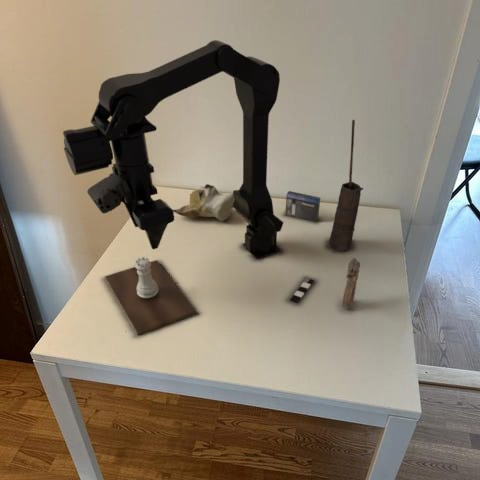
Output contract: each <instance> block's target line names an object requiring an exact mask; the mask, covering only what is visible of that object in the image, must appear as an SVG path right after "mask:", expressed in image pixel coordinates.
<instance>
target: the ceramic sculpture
mask: <svg viewBox="0 0 480 480" xmlns="http://www.w3.org/2000/svg"><path fill="white" fill-rule="evenodd" d="M233 204H234V196H233V193H231V192H227V193H221V192H219V191H218V189H217V188H216V187H215V186H214V185H211V184H208V183H207V184H205V185H204V186H198V187H197V188H195V189H194V190H193V191H192V192H191V193H190V194H189V204H187V205H183V206H181V207H180V208H177V209H172V210H173V213H175V214H177V215H179V216H182V217H185V218H194V217H207V218H208V217H212V218H216V219H217V220H219V221H220V222H224V221H226V220H228V219H229V218H230V216H231V213H232V210H233V209H234V207H233Z"/></svg>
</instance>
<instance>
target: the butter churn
mask: <svg viewBox="0 0 480 480" xmlns="http://www.w3.org/2000/svg"><path fill="white" fill-rule="evenodd" d="M355 121H356V120H355V119H352V121H351V141H350V142H351V143H350V160H349V177H348V178H349V179H348V181H347V182H345V183H342V184H341V187H340V191H339V195H338V202H337V206H336V208H335V209H336V210H335V214H334V220H333V224H332V228H331V233H330V237H329V241H328V246H329V247H330V248H331V249H334V250H335V251H336V252H337V251H339V252H345V251H348V250H350V249H351V247H352V242H353V237H354V232H355V225H356V222H357V216H358V212H359V206H360V201H361V192H362V191H363V190H364V187H361V185H359V184H358V183H356V182H354V181H353V177H352V176H353V161H354V160H353V159H354V143H355V125H356V123H355Z"/></svg>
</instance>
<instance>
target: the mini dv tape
mask: <svg viewBox="0 0 480 480" xmlns="http://www.w3.org/2000/svg"><path fill="white" fill-rule="evenodd" d="M320 204H321V197H320V196H315V195H310V194H306V193H301V192H296V191H292V190H289V191H288V192H287V193H286V198H285V216H287V217H290V218H291V217H292V218H296V219H299V220H303V221H304V220H305V221H309V222H313V223H316V222H317V221H318V220H319V215H320V214H319V213H320V207H321V206H320Z"/></svg>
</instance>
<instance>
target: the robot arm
mask: <svg viewBox="0 0 480 480" xmlns="http://www.w3.org/2000/svg"><path fill="white" fill-rule="evenodd" d="M220 73H225V74H226V75H228V76H230V77H232V78H233V83H234V87H235V95H236V96H237V100H238V102H239V105H240V108H241V110H242V120H243V121H242V126H243V127H242V184H241V186H240V187H239V189H235V190H233V193H232V194H233V196H234V204H233V209H234V210H235V212H236V214H237V215H239V217H241V218H242V219H243V221H245V222H246V223H248V224H247V225H246V228H245V229H246V230H245V231H246V232H244V243H242V246H243V248H244V249H245V250H246V251H247V252H248V253H250V255H252V257H254V258H255V260H259V259H262V258H264V257H267V256H270V255H273V254H276V253H279V252H280V251H281V248H280V247H279V246H278V245H277V241H278V233H279V232H281V231H282V229H283V225H284V221H283V220H281V219H280V218H279V217H277V215H275V214H274V206H273V205H274V204H273V199H272V196H271V194H270V191H269V188H268V186H267V178H268V176H267V175H268V150H269V149H268V146H269V124H270V123H269V121H270V120H269V117H270V113H271V111H272V109H273V107H274V105H275V104H276V102H277V99H278V94H279V89H280V82H281V76H280V71H279V70H278V69H277V68H276V67H275V66H274V65H273V64H271V63H268V62H266V61H264V60H261V59H259V58H257V57H254V56H246V55H245V54H242V53H241V52H239V51H237V50H236V49H234V48H233V47H232V46H231V45H230V44H228V43H226V42H223V41H220V40H217V39H215V40H211V41H209V42H208V43H207V44H206V45H204V46H201V47H199V48H197V49H194V50H193V51H191V52H189V53H186V54H184V55H182V56H179V57H178V58H177V57H176V59H172V60H171V61H168V62H167V63H164V64H162V65H160V66H158V67H156V68H153V69H151V70H149V71H145V72H137V73H127V74H122V75H117V76H113V77H109V78H107V79H106V80H104V81H103V82H102V83H101V85H100V88H99V90H98V103H97V105H96V108H95V110H94V112H93V114H92V117H91V119H90V123H91V124H92V126H86V127H81V128H77V129H72V128H71V129H67V130H63V131H62V134H63V138H64V139H63V144H64V145H63V146H64V147H63V150H64V155H65V157H66V161H67V163H68V165H69V168H70V170H71V172H72V174H73V175H75V176H79V175H82V174H86V173H90V172H95V171H98V170H102V169H103V170H104V169H107V168H109V166H111V165H112V167H111V169H112V173H109V175H108V176H106V177H104V178H103V179H101V180H100V181H98V182H97V183H95V184H93V185H92V186H90V187H88V189H87V190H86V192H87V195H88V196H89V197H90V199H91V200H92V201H93V203H94V205H95V206H96V207H97V208H98V210H99V212H101V213H102V214H108V213H109V212H112V211H114V210H115V209H116V208H118V207H119V206H121V204H122V203H123V204H124V206H125V209H126V212H127V213H128V215H129V217H130V219H131V221H132V224H133V226H134V228H138V229H140V230H141V231H144V232H145V234H146V238H147V240H148V242H149V246H150V247H151V249H152V250H156V249H159V246H160V244H161V241H162V239H163V236H164V234H165V231H166V229H167V227H168V225H169V224H171V223H173V222H174V221H175V214H174V213H175V212H174V211H173V210H174V209H173V208H172V207H171V206H170V205H169V204H168V203H167V202H166V201H164V200H163V199H161V198H158V199H155V200H154V198H153V197H152V196H154V195H158V188H157V187H156V186H155V185H154V184H153V177H152V174H153V173H155V169H154V168H155V167H154V165H153V164H152V163H150V158H149V153H148V152H149V151H148V146H147V139H146V134H148V133H151V132H155V131H157V126H156V125H154V123H152V122H151V121H150V120H148V119H147V116H149V115H150V114H151V113H152V112H153V111H154V110H155V108H156V107H157V106H158V104H160V103H161V102H162V101H163V100H165V99H167V98H170V97H171V96H173V95H176V94H177V93H178V94H179V93H180V92H182V91H184V90H186V89H188V88H190V87H192V86H194V85H195V86H196V84H199V83H201V82H203V81H205V80H207V79H210V78H211V77H212V78H213V77H214V76H216V75H218V74H220ZM109 119H110V120H109ZM113 159H114V162H115V163H113Z"/></svg>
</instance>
